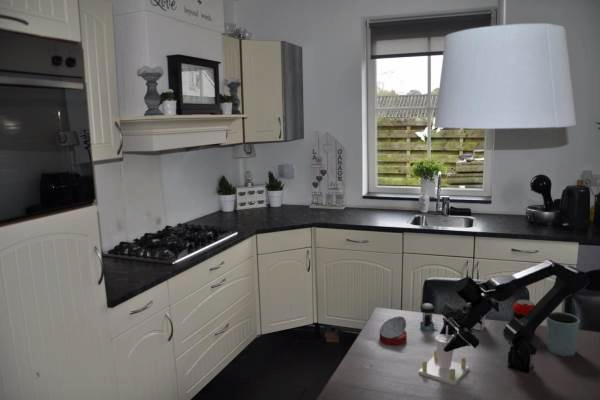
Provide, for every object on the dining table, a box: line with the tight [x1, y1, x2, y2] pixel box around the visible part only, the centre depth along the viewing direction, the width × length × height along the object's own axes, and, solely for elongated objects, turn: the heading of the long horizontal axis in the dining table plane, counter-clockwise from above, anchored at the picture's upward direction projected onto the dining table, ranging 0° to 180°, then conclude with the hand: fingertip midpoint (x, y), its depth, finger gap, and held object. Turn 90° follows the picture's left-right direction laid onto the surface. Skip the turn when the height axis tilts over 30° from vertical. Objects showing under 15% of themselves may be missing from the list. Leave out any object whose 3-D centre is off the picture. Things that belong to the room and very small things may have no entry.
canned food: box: [379, 316, 408, 347], centre depth 185 cm, size 11×10×10 cm
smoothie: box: [434, 326, 454, 369], centre depth 161 cm, size 6×6×14 cm
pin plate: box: [418, 349, 470, 386], centre depth 162 cm, size 12×12×4 cm
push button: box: [419, 302, 438, 331], centre depth 192 cm, size 7×5×10 cm
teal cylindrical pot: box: [545, 311, 580, 357], centre depth 173 cm, size 10×10×12 cm
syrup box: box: [467, 293, 486, 332], centre depth 193 cm, size 6×6×14 cm
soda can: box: [512, 299, 536, 320], centre depth 187 cm, size 8×8×12 cm
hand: (441, 346), depth 160 cm, fingers closed on smoothie, 6 cm apart
